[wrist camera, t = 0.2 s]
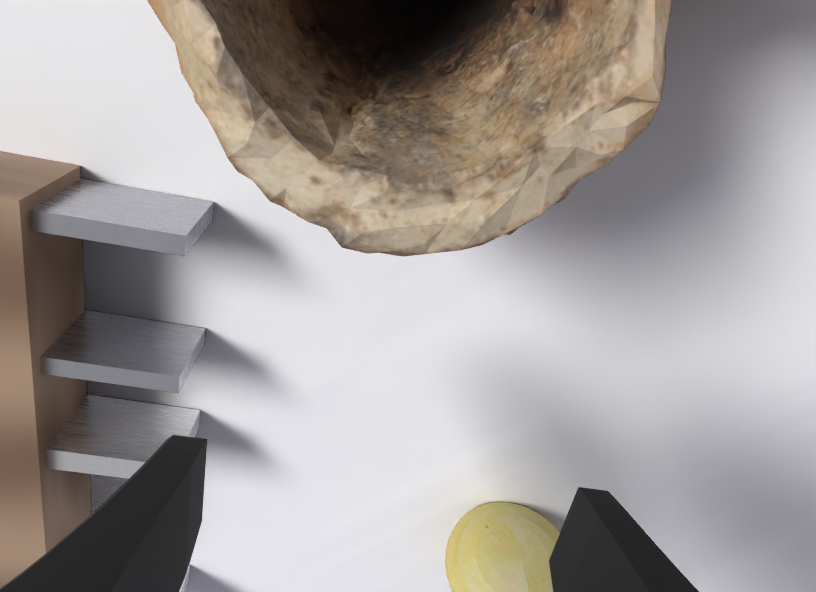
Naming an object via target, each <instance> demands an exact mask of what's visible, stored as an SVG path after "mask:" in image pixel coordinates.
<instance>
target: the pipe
mask: <svg viewBox="0 0 816 592" xmlns="http://www.w3.org/2000/svg"><path fill="white" fill-rule="evenodd" d="M147 1H148V2H149V4H150V6H151V7H152V9H153V10H154V12H155V14H156V15H157V17H158V18H159V20H160V22H161V23H162V25H163V26H164V28H165V29H166V31H167V32H168V34H169V35H170V37H171V38H172V40H173V41H174V43H175V46H176V50H177V55H178V59H179V64H180V68H181V72H182V74H183V76H184V78H185V79H186V81H187V83H188V84H189V86H190V88H191V89H192V91H193V94H194V98H195V101H196V103H197V104H198V106H199V107H200V108H201V110H202V111H203V113H204V114H205V115H206V117H207V118H208V120H209V122H210V124H211V126H212V128H213V130H214V131H215V133H216V135H217V137H218V139H219V141H220V143H221V145H222V147H223V149H224V151H225V153H226V155H227V157H228V159H229V160H230V162H231V163H232V164H233V166H234V167H235V169H236V170H237V171H238V172H239V173H241V174H243V175H244V176H246V177H248V178H250V179H251V180H253V181H254V183H255V184H256V185H257V186H258V187H259V189H260V190H261V191H262V192H263V193H264V195H265V196H266V197H267V198H268V199H269V201H271V202H273V203H276V204H278V205H280V206H282V207H284V208H286V209H288V210H289V211H291V212H292V213H294V214H296V215H297V216H299V217H301V218H302V219H304V220H306V221H307V222H310V223H313V224H316V225H319V226H322V227H325V228H327V229H328V231H329V232H330V233H331V234H332V236H333V237H334V238H335V239H336V241H337V242H338V243H339V244H340V246H341V247H343V248H347V249H351V250H355V251H360V252H364V253H385V254H391V255H397V256H411V255H420V254H430V253H439V252H448V251H457V250H463V249H467V248H471V247H475V246H480V245H483V244H485V243H487V242H489V241H491V240H493V239H495V238H497V237H499V236H501V235H503V234H508V235H510V234H512V233H513V232H514V231H516V230H517V229H518V228H519V227H521V226H522V225H524V224H526V223H528V222H530V221H531V220H533V219H535V218H537V217H538V216H540V215H542V214H543V213H544V212H545V211H546V210H547V209H548V208H550V207H551V206H552V205H554V204H556V203H558V202H559V201H561V200H563V199H565V197H566V196H567V194H568V193H569V192H570V190H571V189H572V188H573V186H574V185H575V184H576V183H577V182H578V181H579V180H580V179H581V178H583V177H585V176H586V175H588V174H590V173H592V172H594V171H596V170H598V169H600V168H602V167H604V166H606V165H607V164H608V163H609V162H610V161H612V160H613V159H614V158H615V157H616V156H617V155H618V154H619V153H620V152H621V151H622V150H624V149H625V148H626V147H627V146H628V145H629V144H630V143H631V142H632V141H633V140H634V139H635V138H636V137H637V136H638V135H639V134H640V133H641V132H642V131H643V130H644V129H645V128H646V127H648V126H649V124H650V122H651V120H652V119H653V117H654V115H655V113H656V111H657V109H658V107H659V105H660V103H661V97H662V91H663V84H664V77H665V40H666V33H667V28H668V22H669V16H670V9H671V0H147Z"/></svg>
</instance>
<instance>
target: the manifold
mask: <svg viewBox="0 0 816 592" xmlns="http://www.w3.org/2000/svg"><path fill="white" fill-rule="evenodd" d="M213 204H214V202H211V201H205V200H200V199H194V198H188V197H183V196H177V195H171V194H166V193H160V192H154V191H149V190H143V189H137V188H132V187H126V186H120V185H115V184H109V183H104V182H98V181H92V180H87V179H81V168H80V166H79V165H73V164H68V163H62V162H57V161H51V160H45V159H40V158H34V157H29V156H23V155H17V154H12V153H6V152H1V151H0V588H2V587H3V586H4V585H6V584H7V583H8V582H10V581H11V580H12V579H14V578H15V577H16V576H18V575H19V574H20V573H22V572H23V571H24V570H26V569H27V568H28V567H29V566H31V565H32V564H33V563H34V562H36V561H37V560H38V559H39V558H41V557H42V556H43V555H44V554H46V553H47V552H48V551H49V550H50V549H52V548H53V547H54V546H55V545H56V544H58V543H59V542H60V541H61V540H62V539H63V538H65V537H66V536H67V535H68V534H69V533H71V532H72V531H73V530H74V529H75V528H76V527H78V526H79V525H80V524H81V523H82V522H83V521H85V520H86V519H87V518H88V517H89V516H90V515H91V491H90V474H95V475H103V476H111V477H119V478H127V479H129V478H130V477H131V476H132V475H133V474H134V473H135V472H136V471H137V470H138V469H139V468H140V467H141V466H142V465H143V464H144V463H145V462H146V461H147V460H148V459H149V458H150V457H151V456H152V455H153V454H154V453H155V451H156V450H157V449H158V448H159V447H160V446H161V445H162V444H163V443H164V442H165V441H166V439H168V438H169V437H171V436H172V435H179V436H186V437H194V438H195V435H196V433H197V431H198V429H199V420H200V410H196V409H188V408H181V407H174V406H167V405H160V404H153V403H145V402H138V401H131V400H124V399H117V398H109V397H102V396H95V395H88V394H87V380H89V381H96V382H103V383H110V384H117V385H124V386H131V387H138V388H146V389H153V390H160V391H167V392H174V393H179V391H180V389H181V387H182V385H183V384H184V382H185V380H186V378H187V376H188V374H189V372H190V370H191V368H192V366H193V364H194V362H195V360H196V359H197V357H198V355H199V353H200V351H201V349H202V347H203V345H204V343H205V328H199V327H193V326H186V325H180V324H173V323H167V322H160V321H154V320H147V319H141V318H134V317H128V316H121V315H115V314H109V313H102V312H96V311H89V310H85V297H84V265H83V239H85V240H91V241H97V242H103V243H109V244H115V245H121V246H127V247H133V248H139V249H145V250H151V251H157V252H163V253H169V254H175V255H181V256H185V255H186V254H187V252H188V251H189V250H190V249H191V247H192V246H193V245H194V243H195V242H196V241H197V239H198V238H199V237H200V235H201V234H202V233H203V232H204V230H205V229H206V228H207V226H208V225H209V224H210V222H211V221H212V219H213ZM189 574H190V565H189V566H188V570H187V573H186V576H185V578H184V581H183V583H182V586H181V588H180V591H179V592H185V589H186V586H187V583H188V580H189Z"/></svg>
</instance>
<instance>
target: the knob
mask: <svg viewBox="0 0 816 592" xmlns="http://www.w3.org/2000/svg"><path fill="white" fill-rule="evenodd" d="M559 534H560V532H559V530H558V529H557V528H556V527H555V526H554V525H553V524H552V523H551V522H550V521H548V520H547V519H546V518H544V517H543V516H542V515H540V514H539V513H537V512H535V511H533V510H531V509H529V508H527V507H524V506H521V505H518V504H513V503H508V502H494V503H487V504H484V505H481V506H478V507H476V508H474V509H473V510H471V511H469V512H468V513H467V514H466V515H464V516H463V517H462V518H461V519H460V520H459V522H458V523H457V524H456V526H455V527H454V529H453V531H452V533H451V535H450V537H449V540H448V544H447V548H446V560H445V564H446V573H447V577H448V581H449V584H450V587H451V590H452V592H553V587H552V580H551V573H550V566H549V559H550V557H551V554H552V552H553V549H554V547H555V544H556V542H557V539H558V537H559Z"/></svg>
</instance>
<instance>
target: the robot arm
mask: <svg viewBox="0 0 816 592" xmlns="http://www.w3.org/2000/svg"><path fill="white" fill-rule="evenodd" d="M206 447H207V439H202V438H194V437H186V436H179V435H172V436H171V437H169V438H168V439H166V441H165V442H164V443H163V444H162V445H161V446H160V447H159V448H158V449H157V450H156V451H155V453H154V454H153V455H152V456H151V457H150V458H149V459H148V460H147V461H146V462H145V463H144V464H143V465H142V466H141V467H140V468H139V469H138V470H137V471H136V472H135V473H134V474H133V475H132V476H131V477H130V478H129V479H128V480H127V481H126V482H125V483H124V484H123V485H122V486H121V487H120V488H119V489H118V490H117V491H116V492H115V493H114V494H113V495H112V496H111V497H109V498H108V499H107V500H106V501H105V502H104V503H103V504H102V505H101V506H100V507H99V508H98V509H97V510H96V511H95V512H93V513H92V514H91V515H90V516H89V517H88V518H87V519H86V520H85V521H83V522H82V523H81V524H80V525H79V526H78V527H76V528H75V529H74V530H73V531H72V532H71V533H69V534H68V535H67V536H66V537H65V538H63V539H62V540H61V541H60V542H59V543H58V544H56V545H55V546H54V547H53V548H52V549H50V550H49V551H48V552H47V553H46V554H44V555H43V556H42V557H41V558H39V559H38V560H37V561H36V562H34V563H33V564H32V565H31V566H29V567H28V568H27V569H26V570H24V571H23V572H22V573H20V574H19V575H18V576H16V577H15V578H14V579H12V580H11V581H10V582H8V583H7V584H6V585H4V586H3V587H2V588H0V592H179V591H180V588H181V586H182V583H183V581H184V578H185V576H186V573H187V570H188V566H189V563H190V560H191V556H192V553H193V549H194V546H195V543H196V539H197V536H198V532H199V529H200V525H201V522H202V509H203V493H204V478H205V463H206ZM549 566H550V573H551V580H552V587H553V592H699V591H698V590H697V589H696V588H695V587H694V586H693V585H692V584H691V583H690V582H689V581H688V580H687V579H686V577H685V576H684V575H683V574H682V573H681V572H680V571H679V570H678V569H677V568H676V566H675V565H674V564H673V563H672V562H671V561H670V560H669V559H668V558H667V556H666V555H665V554H664V553H663V552H662V551H661V550H660V549H659V548H658V546H657V545H656V544H655V543H654V542H653V541H652V540H651V538H650V537H649V536H648V535H647V534H646V533H645V532H644V530H643V529H642V528H641V527H640V526H639V525H638V524H637V522H636V521H635V520H634V519H633V518H632V517H631V516H630V515H629V513H628V512H627V511H626V510H625V509H624V508H623V507H622V506H621V504H620V503H619V502H618V501H617V500H616V499H615V498H614V497H613V496H612V495H611V494H610V493H609V492H608V491H604V490H596V489H588V488H581V487H578V490H577V492H576V495H575V497H574V500H573V502H572V505H571V507H570V510H569V512H568V515H567V517H566V520H565V522H564V524H563V527H562V529H561V532H560V534H559V537H558V539H557V542H556V544H555V547H554V549H553V552H552V554H551V557H550V559H549Z"/></svg>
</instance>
